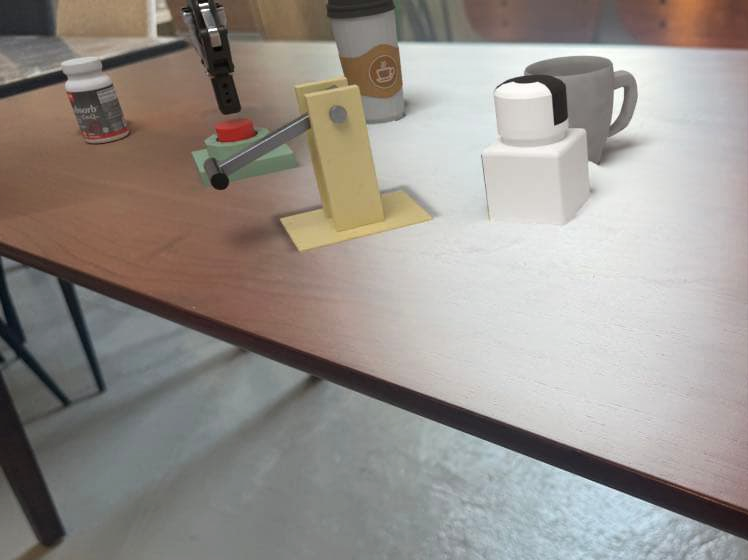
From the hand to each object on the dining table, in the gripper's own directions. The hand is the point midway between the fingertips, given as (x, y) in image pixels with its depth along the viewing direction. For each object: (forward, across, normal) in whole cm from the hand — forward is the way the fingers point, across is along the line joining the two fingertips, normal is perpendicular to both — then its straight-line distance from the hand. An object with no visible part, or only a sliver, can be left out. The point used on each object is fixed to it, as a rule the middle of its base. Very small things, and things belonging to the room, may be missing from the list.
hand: (231, 112), depth 94 cm
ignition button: (+3, 0, 0) cm, 3 cm away
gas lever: (-2, +26, +1) cm, 26 cm away
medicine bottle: (+7, +34, +21) cm, 40 cm away
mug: (+7, +22, +32) cm, 39 cm away
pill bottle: (+7, -29, -14) cm, 33 cm away
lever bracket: (+7, +26, +6) cm, 27 cm away
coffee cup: (+7, -11, +19) cm, 23 cm away
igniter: (+6, 0, 0) cm, 7 cm away
